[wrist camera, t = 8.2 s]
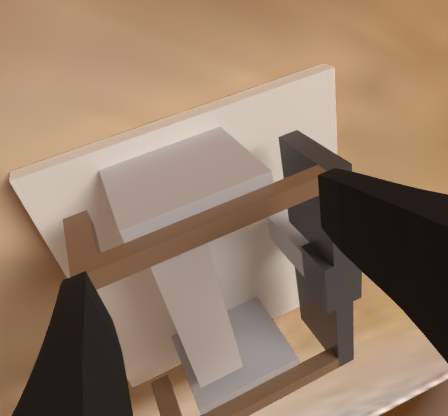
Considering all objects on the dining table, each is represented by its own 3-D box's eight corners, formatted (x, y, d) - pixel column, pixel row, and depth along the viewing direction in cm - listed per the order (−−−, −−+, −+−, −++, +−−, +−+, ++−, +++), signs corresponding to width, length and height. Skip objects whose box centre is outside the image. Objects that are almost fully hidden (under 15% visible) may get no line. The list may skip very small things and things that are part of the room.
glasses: (155, 390, 24) (174, 455, 21) (62, 219, 16) (70, 280, 13) (321, 308, 26) (360, 355, 23) (306, 126, 19) (362, 159, 16)
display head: (129, 375, 27) (152, 467, 22) (10, 171, 18) (2, 252, 13) (333, 277, 30) (392, 338, 25) (322, 63, 21) (412, 94, 16)
